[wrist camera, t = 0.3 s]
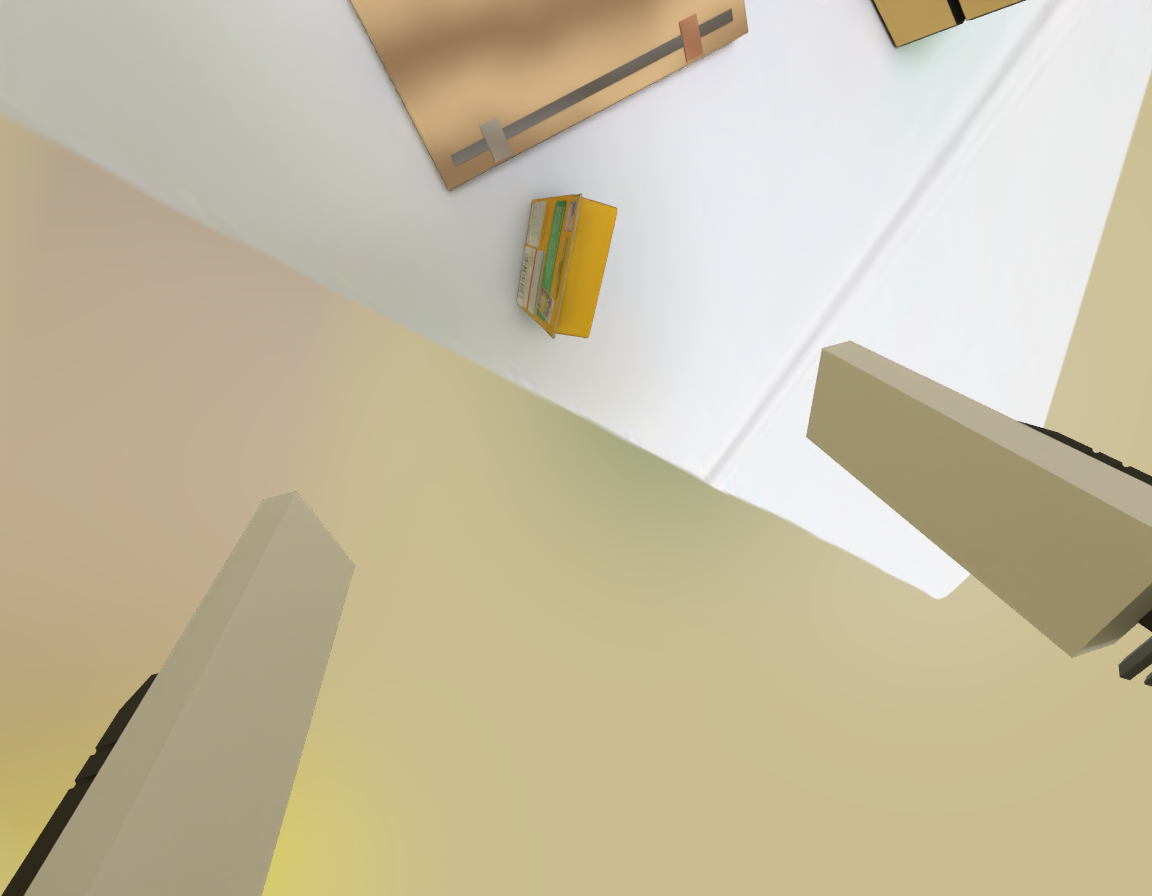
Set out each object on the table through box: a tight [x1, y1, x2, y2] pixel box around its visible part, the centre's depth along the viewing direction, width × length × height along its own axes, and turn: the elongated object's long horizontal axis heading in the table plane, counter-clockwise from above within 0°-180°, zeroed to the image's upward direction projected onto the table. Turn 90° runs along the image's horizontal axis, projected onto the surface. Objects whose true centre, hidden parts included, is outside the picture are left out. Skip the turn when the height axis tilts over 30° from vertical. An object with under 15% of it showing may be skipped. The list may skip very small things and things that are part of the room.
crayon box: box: [517, 194, 617, 339], centre depth 27 cm, size 7×3×12 cm, turn 167°
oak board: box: [350, 0, 748, 191], centre depth 25 cm, size 11×22×2 cm, turn 114°
